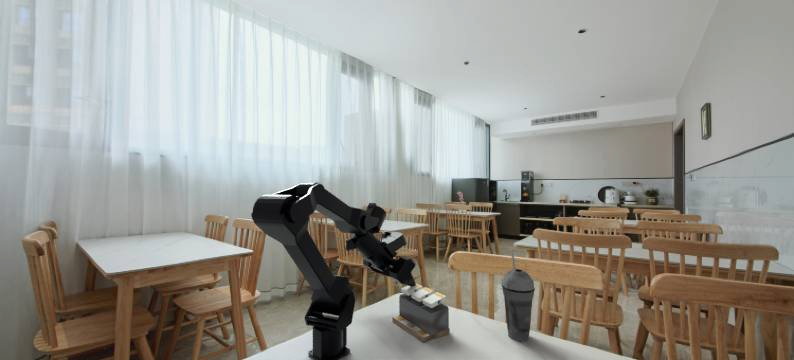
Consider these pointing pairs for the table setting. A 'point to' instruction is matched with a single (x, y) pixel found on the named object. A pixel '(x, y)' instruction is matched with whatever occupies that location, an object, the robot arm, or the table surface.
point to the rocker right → (434, 300)
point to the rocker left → (411, 289)
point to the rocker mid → (422, 294)
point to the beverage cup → (518, 302)
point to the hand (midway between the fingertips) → (405, 281)
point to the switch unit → (422, 318)
